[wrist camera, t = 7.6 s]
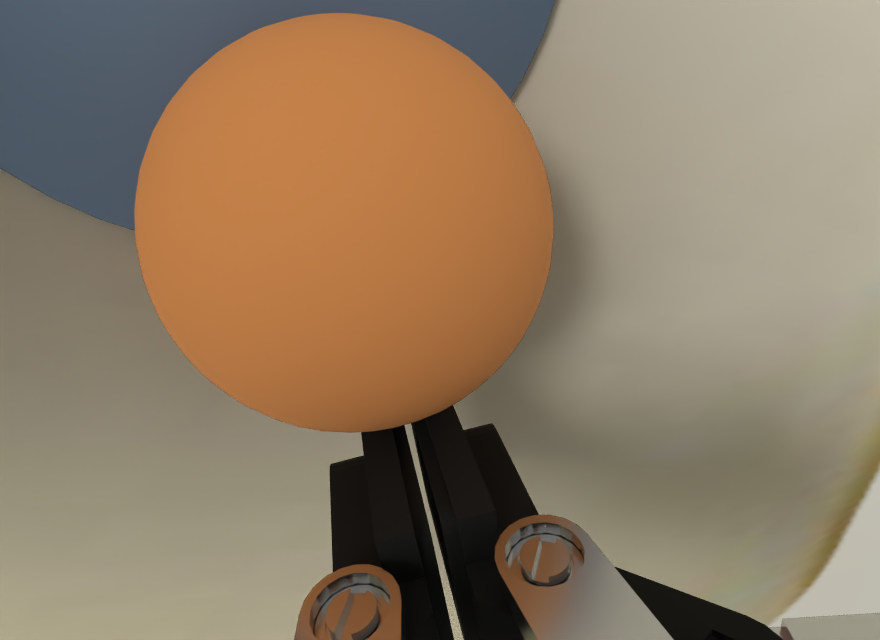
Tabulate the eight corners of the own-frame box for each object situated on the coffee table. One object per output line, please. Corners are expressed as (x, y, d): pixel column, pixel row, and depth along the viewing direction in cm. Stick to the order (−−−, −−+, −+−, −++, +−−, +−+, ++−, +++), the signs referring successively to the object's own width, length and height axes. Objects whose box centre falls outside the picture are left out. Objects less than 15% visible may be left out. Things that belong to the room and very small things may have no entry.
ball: (233, 570, 8) (-2, 213, 4) (194, 305, 12) (60, -14, 8) (593, 434, 10) (712, 77, 5) (453, 240, 14) (459, -52, 9)
